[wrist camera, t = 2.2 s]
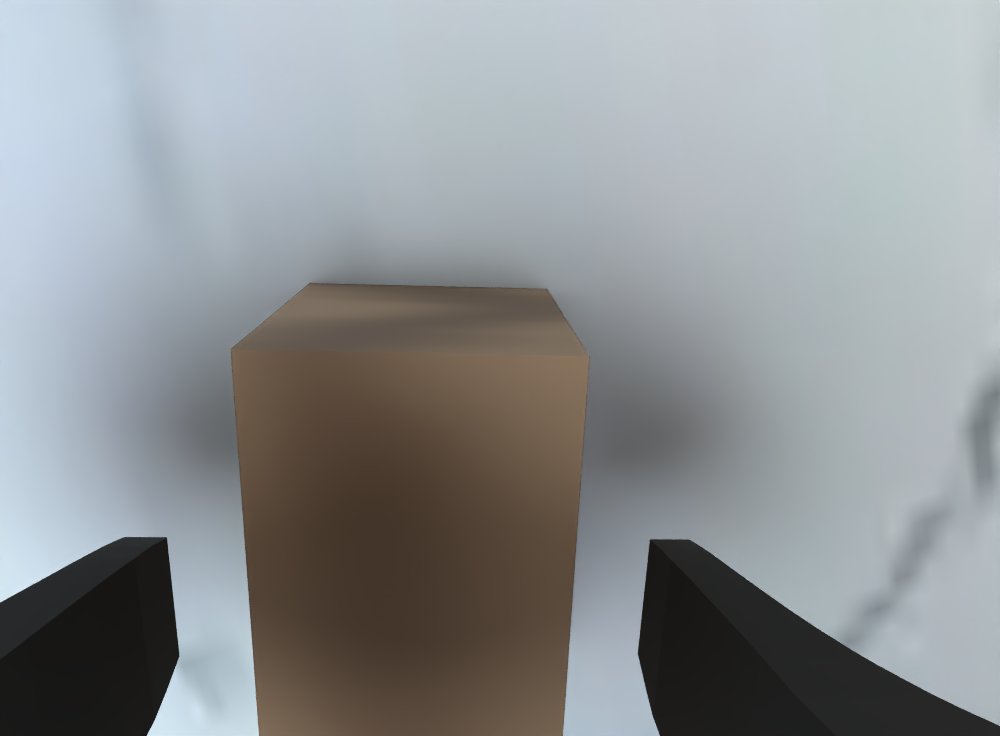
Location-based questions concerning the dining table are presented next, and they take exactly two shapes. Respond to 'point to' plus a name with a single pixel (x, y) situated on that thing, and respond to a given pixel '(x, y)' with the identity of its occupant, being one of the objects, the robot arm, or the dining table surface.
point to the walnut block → (411, 509)
